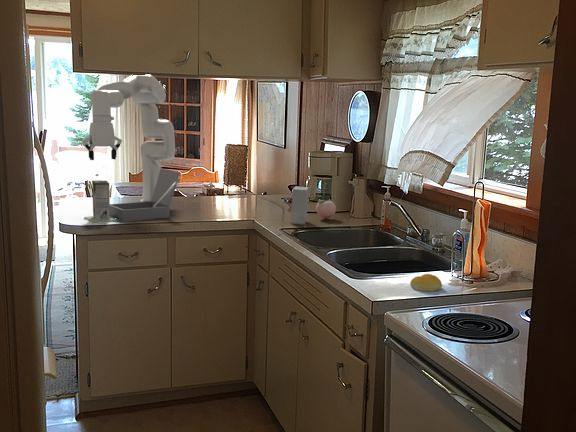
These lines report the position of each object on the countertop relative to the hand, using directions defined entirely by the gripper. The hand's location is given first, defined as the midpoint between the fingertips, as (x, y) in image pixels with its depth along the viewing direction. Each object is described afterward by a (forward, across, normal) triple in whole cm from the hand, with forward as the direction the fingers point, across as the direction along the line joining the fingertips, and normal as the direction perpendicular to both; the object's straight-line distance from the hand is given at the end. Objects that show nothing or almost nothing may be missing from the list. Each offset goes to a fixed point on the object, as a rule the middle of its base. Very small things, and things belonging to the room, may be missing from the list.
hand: (102, 159), depth 274 cm
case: (+26, -18, +1) cm, 32 cm away
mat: (+26, +2, +1) cm, 26 cm away
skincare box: (+27, -71, +48) cm, 90 cm away
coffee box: (+26, +2, +1) cm, 26 cm away
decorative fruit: (+27, -87, +48) cm, 103 cm away
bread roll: (+26, -40, +149) cm, 156 cm away
